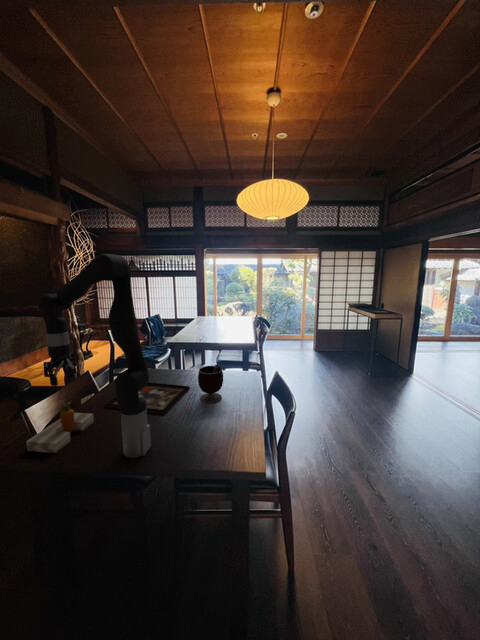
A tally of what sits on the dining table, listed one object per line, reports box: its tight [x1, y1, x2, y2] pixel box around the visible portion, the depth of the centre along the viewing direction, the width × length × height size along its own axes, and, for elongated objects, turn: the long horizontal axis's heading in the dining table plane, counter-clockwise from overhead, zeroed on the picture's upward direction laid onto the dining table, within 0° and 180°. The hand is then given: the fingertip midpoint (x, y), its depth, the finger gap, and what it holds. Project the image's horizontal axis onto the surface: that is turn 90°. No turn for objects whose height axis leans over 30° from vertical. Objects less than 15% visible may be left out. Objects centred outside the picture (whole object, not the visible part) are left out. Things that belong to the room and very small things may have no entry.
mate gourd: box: [197, 360, 224, 405], centre depth 142 cm, size 16×14×20 cm
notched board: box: [26, 412, 95, 454], centre depth 109 cm, size 12×22×4 cm, turn 174°
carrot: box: [59, 401, 75, 435], centre depth 108 cm, size 5×5×15 cm
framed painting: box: [103, 381, 190, 415], centre depth 144 cm, size 38×35×3 cm
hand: (63, 381), depth 105 cm, fingers open, 8 cm apart
